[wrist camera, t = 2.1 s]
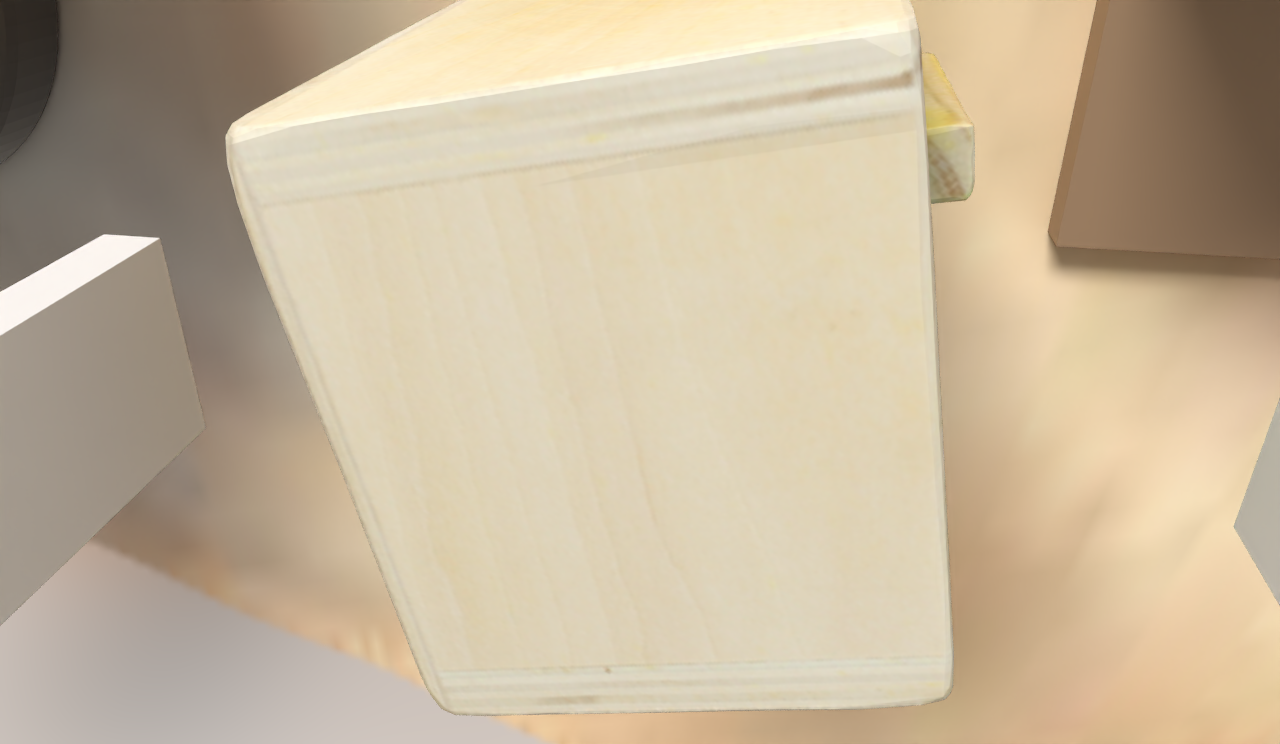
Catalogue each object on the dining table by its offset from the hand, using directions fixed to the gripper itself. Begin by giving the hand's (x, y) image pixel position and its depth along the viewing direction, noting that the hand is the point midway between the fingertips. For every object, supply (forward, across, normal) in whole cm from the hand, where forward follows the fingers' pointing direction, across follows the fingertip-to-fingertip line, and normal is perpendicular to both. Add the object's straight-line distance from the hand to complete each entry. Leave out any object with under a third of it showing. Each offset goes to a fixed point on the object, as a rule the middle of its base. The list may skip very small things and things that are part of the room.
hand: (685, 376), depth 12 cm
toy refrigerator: (+19, 0, 0) cm, 19 cm away
